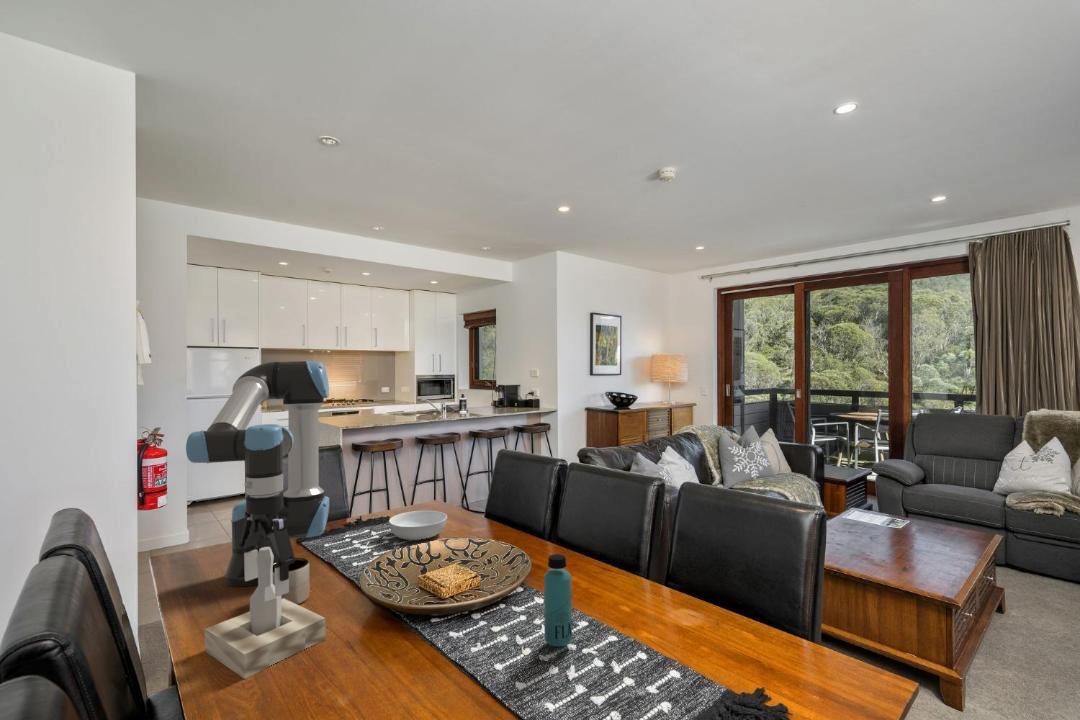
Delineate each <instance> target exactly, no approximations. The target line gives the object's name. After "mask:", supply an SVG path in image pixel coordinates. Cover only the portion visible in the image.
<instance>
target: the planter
mask: <svg viewBox="0 0 1080 720" xmlns="http://www.w3.org/2000/svg"><path fill="white" fill-rule="evenodd" d="M276 564H277V563H276V562H274V563H273V584H274V586H275V568H274V567H275V565H276ZM310 582H311V581H310V561H309V559H307V558H303V557H295V562H294V563H291V564H289V592H288V593H285V594H283V595H281V599H286V600H288V601H290V602H293V603H295V604H297V605H300V604H303V603H304V602H306V601H307V600H308V598H309V597H310V594H311V585H310V584H311V583H310Z"/></svg>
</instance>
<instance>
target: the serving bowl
mask: <svg viewBox="0 0 1080 720" xmlns="http://www.w3.org/2000/svg"><path fill="white" fill-rule="evenodd" d="M447 520H448V515H447V514H446V513H444V512H441V511H436V510H414V511H406V512H402V513H399V514H396V515H394V516H392V517H390V518H389V520H388V524H389V525H388V526H389V528H390V531H391V532H392V533H393V535H394V536H395V537H397V538H400V539H403V540H408V541H422V540H421V539H423V540H427V539H430V538H432V537H436V536H437V535H438V534H441V532H442V531H443V530H444V528H445V527H446V525H447ZM426 538H427V539H426Z"/></svg>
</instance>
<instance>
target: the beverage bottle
mask: <svg viewBox="0 0 1080 720" xmlns="http://www.w3.org/2000/svg"><path fill="white" fill-rule="evenodd" d="M547 566H548V568H550V569H548V571H547V572H545V574H544V575H543V591H544V592H543V595H544V599H543V601H544V603H543V604H544V608H543V609H544V610H543V611H544V613H543V616H544V621H543V622H544V623H543V626H544V627H543V633H544V640H545V642H546V643H547V644H548V645H550V646H554V647H564V646H566V645H569V644H570V643H571V642H572V639H573V635H574V634H573V630H574V628H573V625H574V624H573V609H572V607H573V604H572V603H573V601H572V600H573V599H572V598H573V592H572V591H573V590H572V575H571V573H570V572H569V571H568V570H567V569H565V568H567V557H566V556H565V555H564V554H561V553H554V554H551V555H549V556H548V562H547Z"/></svg>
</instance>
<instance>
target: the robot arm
mask: <svg viewBox="0 0 1080 720" xmlns="http://www.w3.org/2000/svg"><path fill="white" fill-rule="evenodd" d="M329 385H330V384H329V378H328V374H327V370H326V367H325V365H324V364H323V363H322V362H320V361H310V360H306V361H302V360H299V361H297V360H296V361H268V362H264V363H260V364H259V365H256V366H254V367H252V368H250V369H249V370H246V371H245V372H244V373H243V374H241V375H240V376H239V377H238V378H237V379H236V381H235V382H234V384H233V386H232V393H231V395H230V396H229V397H228V399H227V400H226V403H225V404H224V406H223V407H222V408H221V409H220V411H219V413H218V414H216V417H215V418H214V420H213V421H212V423H211V424H210V426H209V427H208V428H207V430H199V431H193V432H191V433H189V435H188V437H187V439H186V443H185V444H186V445H185V453H186V454H185V455H186V457H187V459H188V461H189V462H191V463H192V464H193V463H194V464H212V463H213V464H214V463H223V462H224V463H226V462H244V463H245V482H244V484H243V486H244V487H245V492H246V493H245V494H246V497H245V499H244V500H242V501H239V502H237V503H236V504H235V505H234V506H233V508H232V511H231V519H230V520H231V544H232V545H231V546H232V549H231V550H232V551H231V557H230V560H229V562H228V566H227V569H226V572H225V583H226V584H227V585H229V586H231V587H232V586H233V587H247V586H256V585H258V566H257V556H258V552H259V549H260V548H263V547H270V548H271V550H272V553H273V556H274V559H273V563H274V562H276V563H277V564H276V565H275V567H274V568H275V596H276V597H278V596H280V595H283V594H285V593H288V592H289V564H291V563H294V562H295V558H296V557H295V554H294V550H293V547H292V542H291V539H300V538H306V539H308V538H310V537H318V536H321V535H322V534H323V533H324V532H325V529H326V527H327V524H328V523H327V522H328V518H329V517H328V516H329V512H330V497H329V496H325V490H324V489H323V488H322V487H320V484H319V483H320V481H319V479H320V478H319V476H320V475H319V472H320V471H319V463H320V461H319V458H320V457H319V456H320V455H319V451H320V450H319V449H320V448H319V431H320V430H319V428H320V427H319V409H320V408H321V407H323V405H324V404H325V403H324V402H325V401H324V400H325V399H327V398H329V395H330V386H329ZM267 400H268V401H269V400H282V405H283V407H285V408H286V409H287V411H288V425H287V427H288V428H287V427H285V426H281V425H278V424H275V423H273V424H272V423H268V424H267V423H265V424H257V425H251V426H249V423H250V422H251V420H252V419H253V417H254V415H255V413H256V412H257V410H258V408H259V406H260V405H262V404H264V403H265V402H266V401H267ZM287 455H288V457H287V458H288V460H287V461H288V468H287V469H288V470H287V471H288V472H287V473H288V474H287V475H288V481H287V482H288V483H287V485H288V487H287V490H286V491H285V492H282V491H283V490H284V472H283V471H284V470H283V466H284V465H283V464H284V461H283V457H285V456H287Z"/></svg>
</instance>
